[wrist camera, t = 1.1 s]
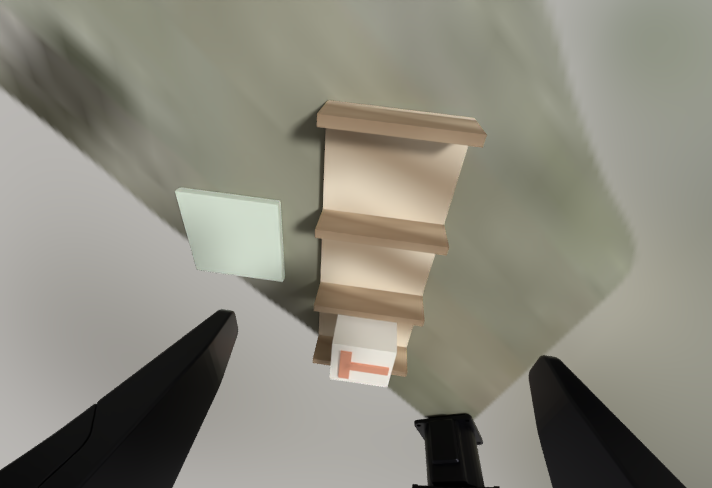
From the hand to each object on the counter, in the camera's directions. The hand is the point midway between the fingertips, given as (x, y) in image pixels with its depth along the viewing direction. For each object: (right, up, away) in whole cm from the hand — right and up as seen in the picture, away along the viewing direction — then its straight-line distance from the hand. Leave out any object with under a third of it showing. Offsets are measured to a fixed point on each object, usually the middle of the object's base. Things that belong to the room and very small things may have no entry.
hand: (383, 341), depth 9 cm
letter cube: (0, -3, +17) cm, 18 cm away
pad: (-10, +3, +14) cm, 18 cm away
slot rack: (+1, +2, +14) cm, 14 cm away
